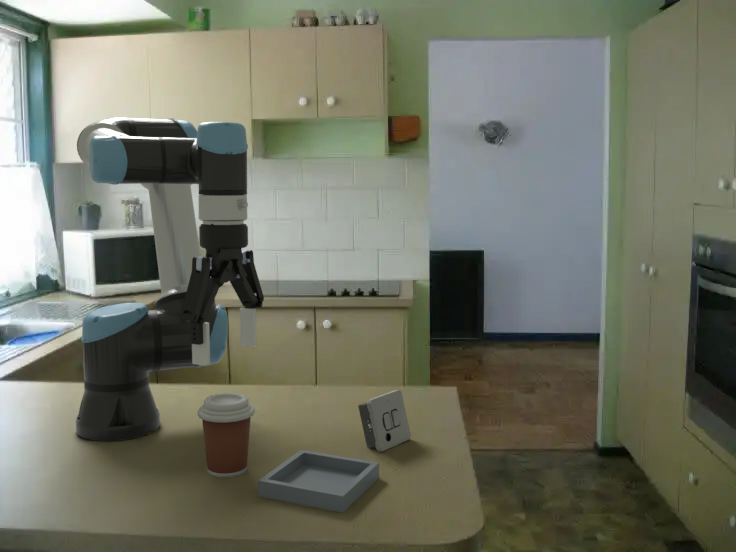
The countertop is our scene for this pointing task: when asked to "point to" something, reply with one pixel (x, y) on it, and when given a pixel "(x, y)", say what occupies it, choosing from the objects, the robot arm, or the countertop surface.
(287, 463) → the dock tray
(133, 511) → the countertop surface
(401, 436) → the electrical switch
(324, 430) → the countertop surface
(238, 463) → the coffee cup
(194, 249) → the robot arm
